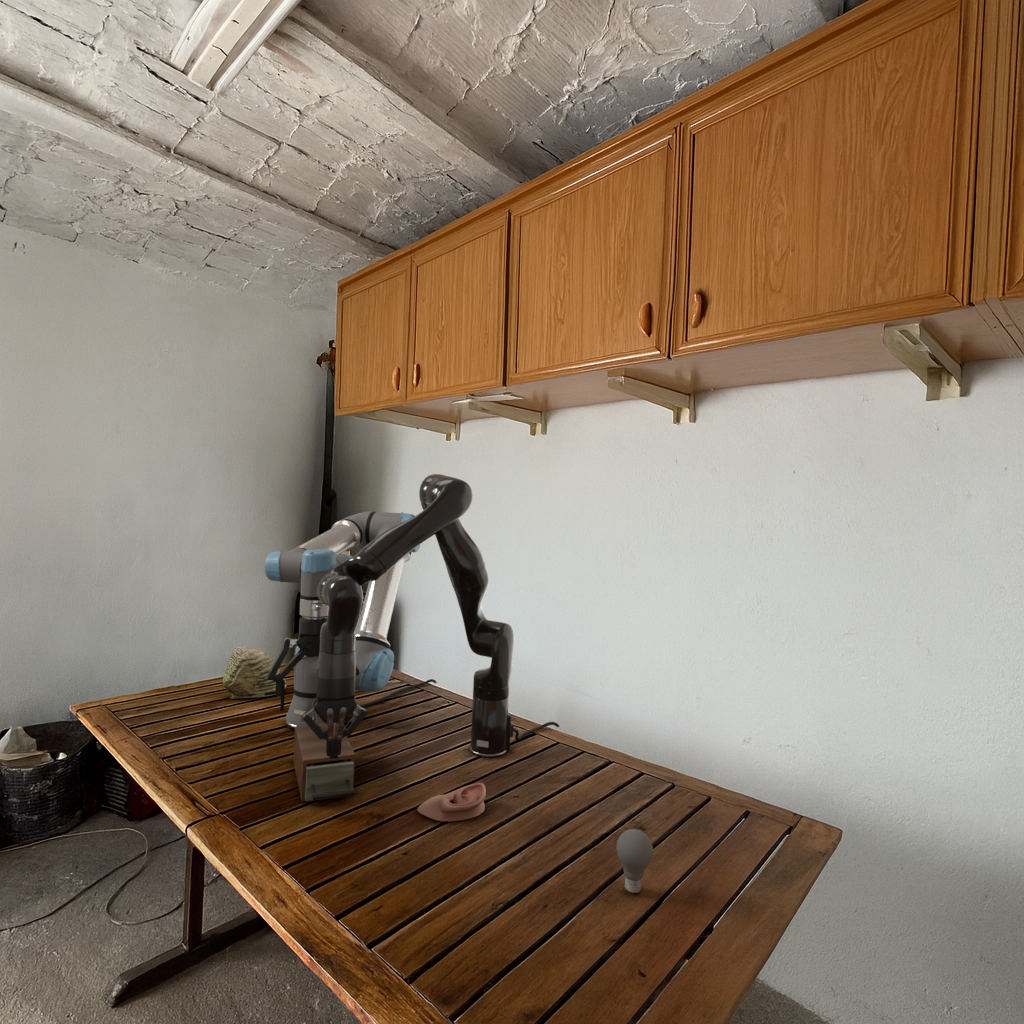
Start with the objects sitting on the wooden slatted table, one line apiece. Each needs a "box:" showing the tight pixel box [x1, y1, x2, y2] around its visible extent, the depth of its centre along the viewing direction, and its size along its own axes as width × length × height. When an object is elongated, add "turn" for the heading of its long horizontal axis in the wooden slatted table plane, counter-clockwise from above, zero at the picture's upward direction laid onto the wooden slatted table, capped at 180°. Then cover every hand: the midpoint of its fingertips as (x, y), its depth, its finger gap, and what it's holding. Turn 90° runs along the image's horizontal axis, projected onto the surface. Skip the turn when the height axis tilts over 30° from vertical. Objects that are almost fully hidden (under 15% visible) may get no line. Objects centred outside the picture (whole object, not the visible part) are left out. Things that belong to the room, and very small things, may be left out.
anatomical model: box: [417, 782, 487, 822], centre depth 131 cm, size 13×4×12 cm
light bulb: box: [615, 828, 654, 894], centre depth 106 cm, size 6×6×10 cm
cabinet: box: [293, 723, 356, 802], centre depth 143 cm, size 21×11×9 cm, turn 23°
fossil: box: [222, 646, 288, 699], centre depth 198 cm, size 9×18×15 cm, turn 132°
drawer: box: [305, 759, 355, 802], centre depth 138 cm, size 25×9×7 cm, turn 24°
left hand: (313, 707), depth 147 cm, fingers open, 13 cm apart
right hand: (333, 757), depth 128 cm, fingers closed
